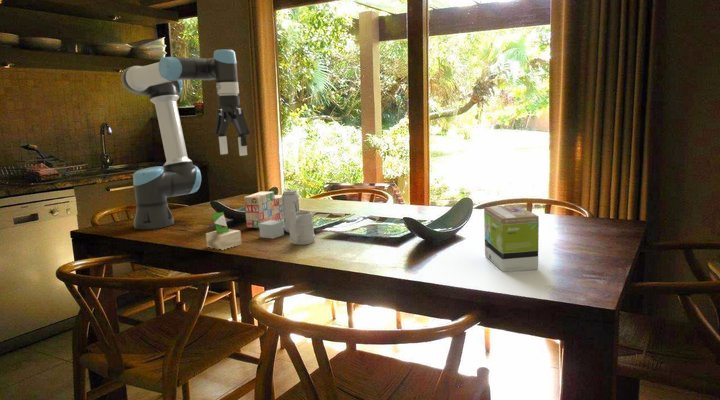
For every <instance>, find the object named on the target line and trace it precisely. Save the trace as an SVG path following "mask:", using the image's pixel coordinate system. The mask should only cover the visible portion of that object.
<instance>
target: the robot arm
mask: <svg viewBox="0 0 720 400" xmlns="http://www.w3.org/2000/svg"><path fill="white" fill-rule="evenodd" d="M238 79H239V78H238V61H237V56H236V52H235V51H234V50H233V49H216V50H214V51H213V57H211V58H201V57H177V56H163V57H161V58H160V60H159V62H155V63H151V64H147V65H133V66H129V67H127V68H126V69H124V70H123V72H122V74H121V84H122V86H123V87H124V88H125V89H126V90H127V91H128V92H129V93H131V94H133V95H137V96H149V102H150V103H152V104H154V107H155V110H156V116H157V120H158V126H159V130H160V136H161V140H162V145H163V150H164V156H165V160H166V161H165V163H164V164H163V166H157V165H156V166H150V167H146V168H142V169H139V170H136V171H134V173H133V175H132V179H133V183H132V185H133V190H134V197H135V198H134V199H135V204H136V212H135V215H134V220H133V227H134V229H135V230H156V229H161V228H167V227H169V226H172V225H174V224H175V218H174V215H173V214H172V212H171V210H170V207H169V205H168V199H167V198H171V197H178V196H184V195H185V196H187V195H189V194H194V193H196V192H198V190H199V189H200V187H201V183H202V174H201V170H200V168H199V167H198V166H196V165H194V163H193V160H192V159H190V158H189V157H188V152H187V148H186V142H185V138H184V133H183V128H182V124H181V123H182V122H181V118H180V113H179V109H178V104H177V103H178V102H177V101H178V100H179V98H180V95H181V93H182V92H183V80H184V81H185V80H186V81H187V80H189V81H190V80H191V81H192V80H194V81H195V80H196V81H206V82H207V81H213V80H216V81H215V82H216V86H215V88H216V91H217V92H216V93H217V95H218V96H217V104H218V106H219V107H220V108H221V109H217V112H216V113H217V115H216V122H215V123H216V124H215V128H214V129H215V131H214V134H215V136H217V137H218V143H219V154H220V155H228V154H229V150H228V139H227V134H226V133H227V131H228V127H229V124H230V123H231V124H232V125H233V127H234V128H235V130H236V132H237V135H238V136H237V140H238V152H239V153H238V154H239V156H240V157H241V156H242V157H243V156H248V145H247V137H248V136H249V135H250V129H249V126H248V124H247V121H246V118H245V116H244V110H243V108H242V107H241V108H240V107H239V106H240V105H241V101H240V100H241V98H240V96H239V94H240V89H239V87H240V86H239V80H238ZM238 107H239V108H238Z"/></svg>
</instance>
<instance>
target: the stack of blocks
mask: <svg viewBox="0 0 720 400" xmlns="http://www.w3.org/2000/svg"><path fill="white" fill-rule="evenodd" d="M243 200H244V212H245V221H246V222H245V223H246V225H245V226H246V228H247V229H248V228H250V229H251V228H252V229H253V228H254V229H259V224H260V223H263V222H266V221H269V220H273V221H277V220H278V221H280V220H283V219H284V218H283V204H282V194H275V191H258V192H256V193H252V194H249V195H246V196H244V197H243ZM282 218H283V219H282ZM279 219H280V220H279Z"/></svg>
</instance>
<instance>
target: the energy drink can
mask: <svg viewBox="0 0 720 400" xmlns="http://www.w3.org/2000/svg"><path fill="white" fill-rule="evenodd" d="M281 195H282V204H283V226H284V231H285V232H286V233H289V229H290V219H291V210H293V211H295V212H301V211H300V210H301V209H300V198H299V197H300V196H299V193H298V190H297V189H285V190H283V193H282V194H281Z"/></svg>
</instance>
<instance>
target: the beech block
mask: <svg viewBox="0 0 720 400" xmlns="http://www.w3.org/2000/svg"><path fill="white" fill-rule="evenodd" d="M228 230H229V231H227V232H222V233H218V234H217V230H214V231H210V232H207V233H205V240H206V242H205V243H206V247H207V248H208V247H210V248H209V249H213V248H215V249H214V250H219V249H221V250H220V251H225V250H228V249H227V248H229V249H232V248H234V246H235V247H238V246H241V245H242V243H243V242H242V233H241V230H238V229H231V228H228ZM231 247H232V248H231ZM224 249H225V250H224Z"/></svg>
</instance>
